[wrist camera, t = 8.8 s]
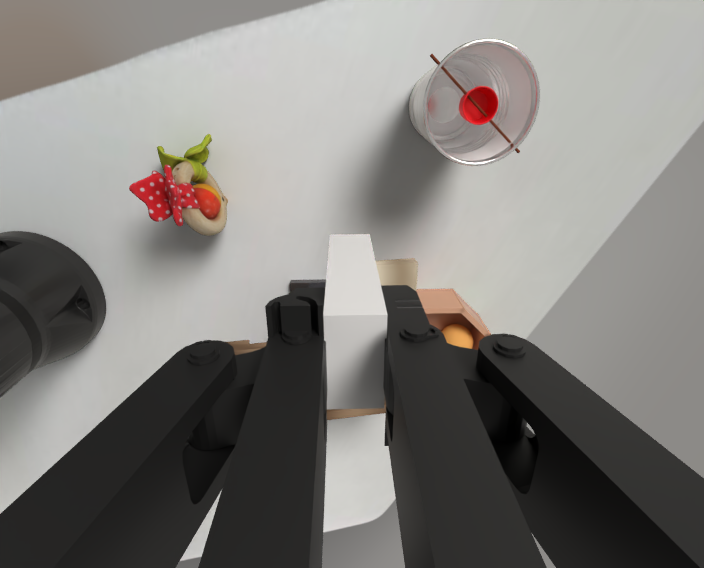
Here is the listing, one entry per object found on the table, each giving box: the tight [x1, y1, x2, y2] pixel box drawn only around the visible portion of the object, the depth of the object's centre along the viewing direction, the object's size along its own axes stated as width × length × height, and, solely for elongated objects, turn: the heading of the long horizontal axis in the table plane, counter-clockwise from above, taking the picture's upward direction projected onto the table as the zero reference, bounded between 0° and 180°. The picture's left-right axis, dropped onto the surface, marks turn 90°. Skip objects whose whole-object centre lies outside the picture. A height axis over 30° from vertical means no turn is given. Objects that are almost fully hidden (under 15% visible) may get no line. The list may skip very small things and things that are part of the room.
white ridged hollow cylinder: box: [409, 38, 540, 166], centre depth 36 cm, size 10×8×12 cm
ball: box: [441, 324, 473, 349], centre depth 49 cm, size 4×4×4 cm
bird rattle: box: [129, 134, 228, 236], centre depth 39 cm, size 6×11×9 cm
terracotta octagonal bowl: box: [416, 289, 491, 350], centre depth 49 cm, size 11×11×5 cm
